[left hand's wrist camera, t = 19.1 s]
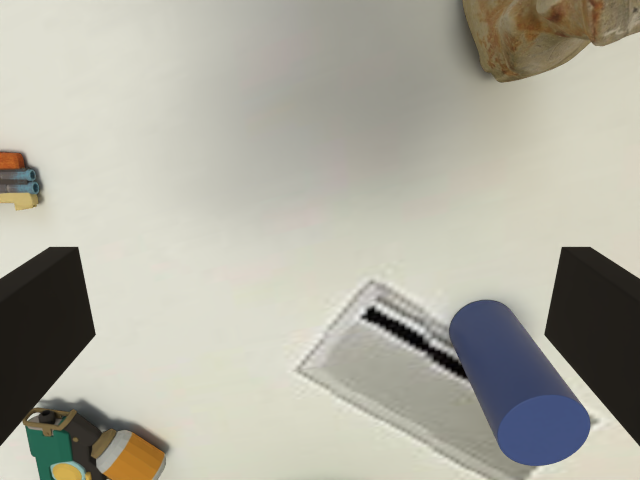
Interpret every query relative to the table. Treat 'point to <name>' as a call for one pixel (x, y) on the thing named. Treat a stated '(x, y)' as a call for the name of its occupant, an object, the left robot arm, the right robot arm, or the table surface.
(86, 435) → the spray gun
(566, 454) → the canister
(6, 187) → the toy gun
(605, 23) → the sculpture
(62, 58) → the table surface
